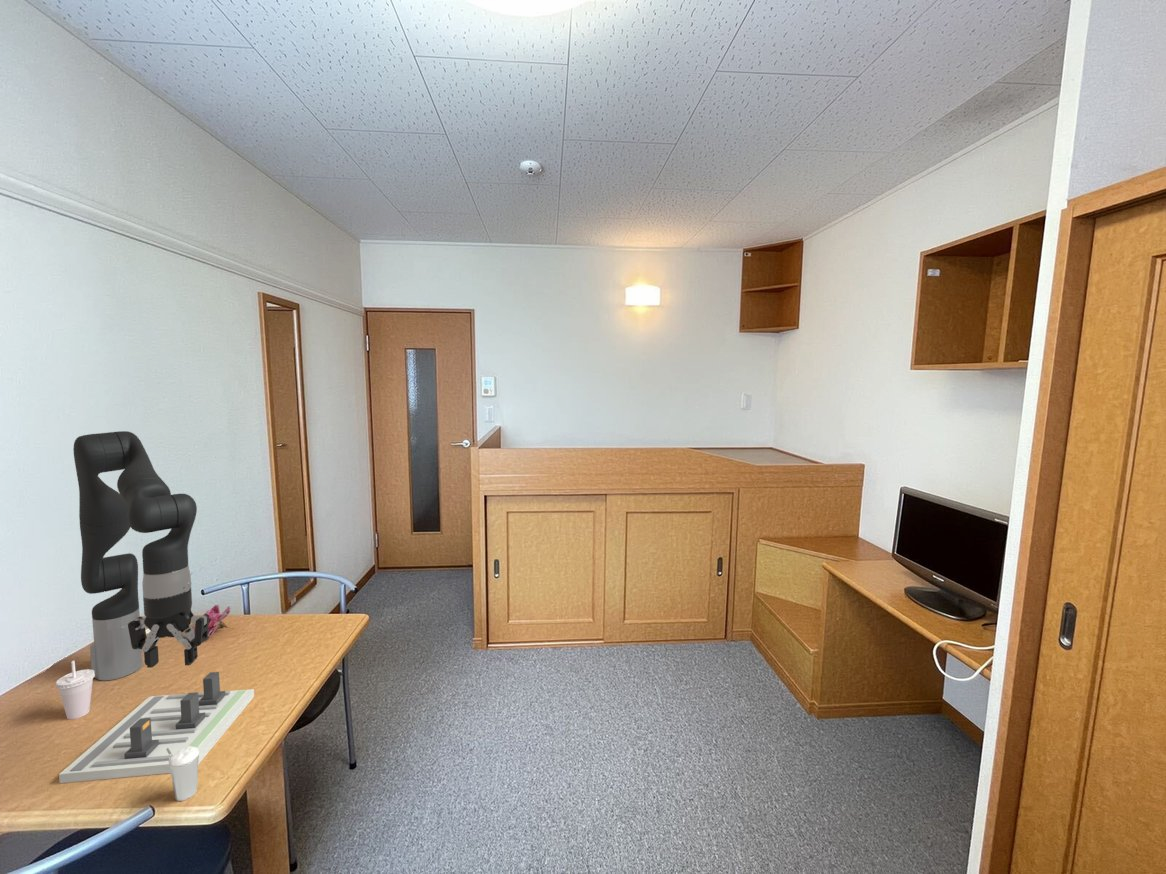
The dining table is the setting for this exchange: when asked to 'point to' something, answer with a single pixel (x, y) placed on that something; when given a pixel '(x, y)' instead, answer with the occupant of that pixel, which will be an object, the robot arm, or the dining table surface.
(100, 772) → the panel
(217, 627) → the flower
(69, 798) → the dining table surface
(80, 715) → the smoothie
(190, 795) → the milkshake
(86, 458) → the robot arm
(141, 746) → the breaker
